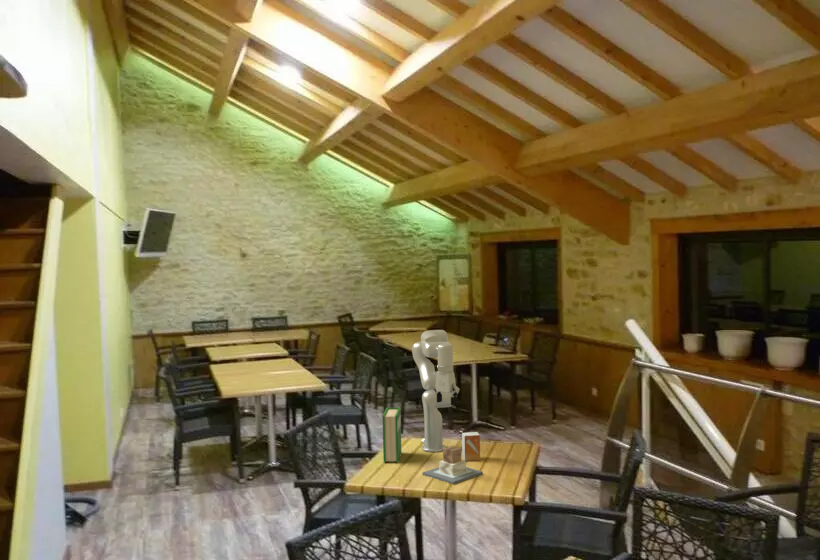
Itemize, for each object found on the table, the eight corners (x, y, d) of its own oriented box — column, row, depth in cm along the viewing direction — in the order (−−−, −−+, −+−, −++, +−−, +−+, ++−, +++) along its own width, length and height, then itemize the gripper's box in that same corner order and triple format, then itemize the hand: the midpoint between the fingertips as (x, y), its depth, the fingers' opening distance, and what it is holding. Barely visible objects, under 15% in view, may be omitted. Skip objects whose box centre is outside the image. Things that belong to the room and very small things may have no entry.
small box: (464, 461, 349) (464, 435, 348) (462, 457, 355) (461, 432, 355) (480, 460, 350) (480, 434, 349) (477, 456, 356) (477, 431, 356)
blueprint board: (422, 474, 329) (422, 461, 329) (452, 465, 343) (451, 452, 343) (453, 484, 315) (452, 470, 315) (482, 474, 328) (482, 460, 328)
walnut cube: (443, 461, 329) (442, 448, 329) (452, 458, 333) (451, 446, 333) (452, 463, 324) (452, 451, 324) (461, 460, 328) (460, 448, 328)
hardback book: (398, 463, 349) (397, 415, 348) (383, 463, 350) (382, 415, 349) (401, 452, 367) (400, 407, 366) (387, 452, 367) (386, 407, 366)
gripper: (427, 368, 347) (428, 402, 348) (453, 371, 334) (453, 407, 335) (438, 366, 352) (439, 399, 353) (463, 369, 340) (464, 404, 340)
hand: (446, 403), depth 344 cm, fingers open, 9 cm apart
